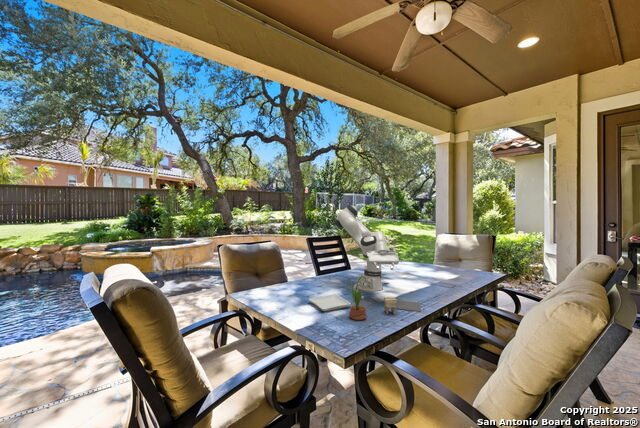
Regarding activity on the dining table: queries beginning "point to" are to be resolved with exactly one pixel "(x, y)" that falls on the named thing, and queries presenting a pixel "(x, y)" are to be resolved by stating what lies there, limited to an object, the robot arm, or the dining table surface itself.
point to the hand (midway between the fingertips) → (384, 269)
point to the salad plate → (329, 302)
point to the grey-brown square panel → (408, 306)
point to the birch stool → (389, 304)
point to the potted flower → (358, 311)
